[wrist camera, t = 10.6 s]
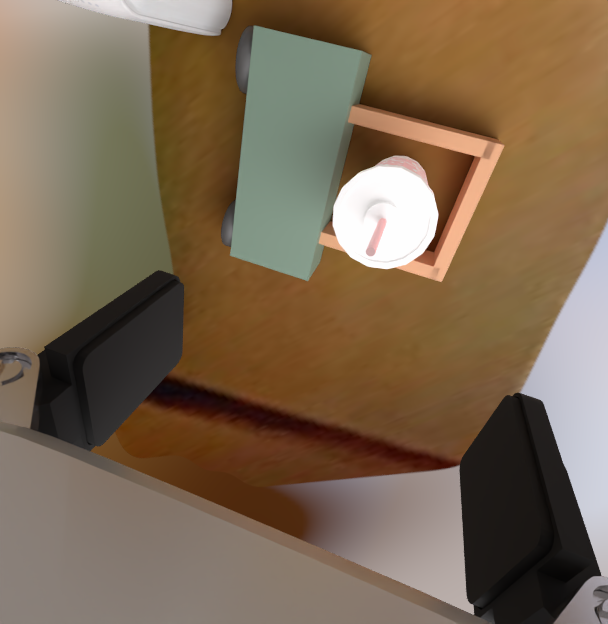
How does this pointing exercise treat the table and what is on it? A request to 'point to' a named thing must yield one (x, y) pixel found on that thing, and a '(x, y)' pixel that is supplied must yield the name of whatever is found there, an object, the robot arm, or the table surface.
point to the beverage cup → (386, 214)
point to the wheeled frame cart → (321, 153)
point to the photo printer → (166, 13)
